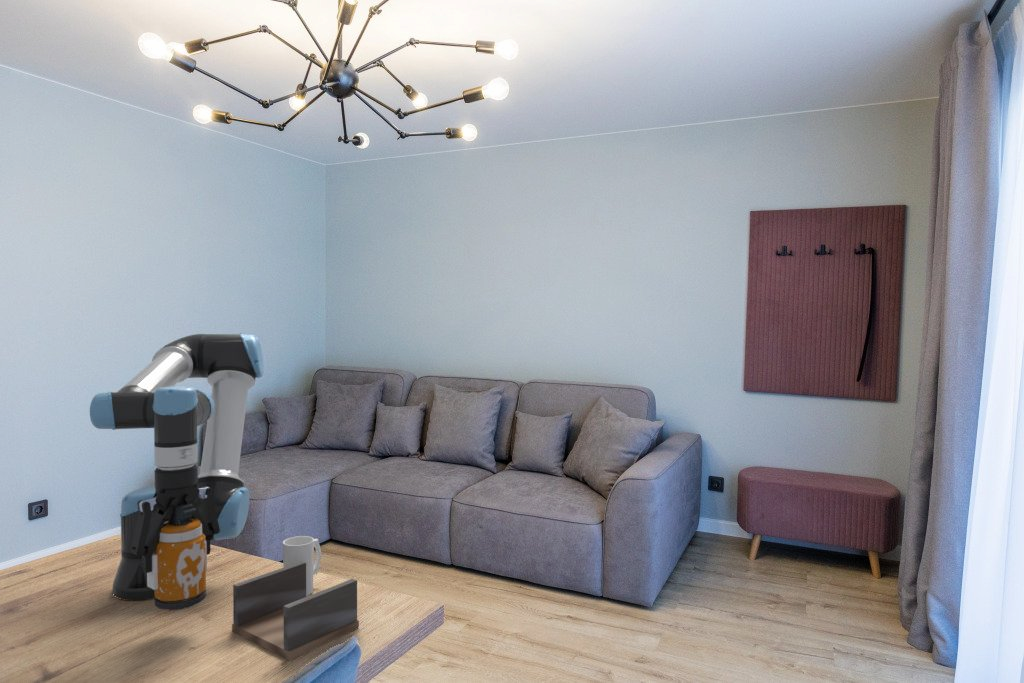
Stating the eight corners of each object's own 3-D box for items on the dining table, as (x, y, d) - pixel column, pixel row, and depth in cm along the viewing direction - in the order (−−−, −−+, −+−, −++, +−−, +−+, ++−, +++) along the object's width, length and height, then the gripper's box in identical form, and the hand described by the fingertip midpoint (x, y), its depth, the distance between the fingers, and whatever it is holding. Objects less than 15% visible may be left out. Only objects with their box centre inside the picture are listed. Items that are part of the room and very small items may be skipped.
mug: (297, 601, 143) (297, 547, 143) (276, 595, 146) (276, 542, 146) (331, 586, 152) (331, 535, 151) (310, 580, 155) (310, 530, 155)
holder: (232, 631, 129) (231, 584, 128) (300, 603, 142) (300, 560, 141) (290, 660, 118) (290, 608, 117) (358, 627, 131) (358, 580, 130)
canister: (171, 617, 121) (170, 511, 120) (139, 603, 127) (137, 502, 126) (215, 600, 129) (214, 500, 128) (183, 587, 134) (182, 491, 134)
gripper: (126, 479, 116) (128, 603, 117) (238, 458, 133) (239, 566, 134) (107, 473, 120) (109, 593, 121) (218, 454, 138) (219, 558, 139)
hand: (177, 579), depth 128 cm, fingers closed on canister, 9 cm apart
